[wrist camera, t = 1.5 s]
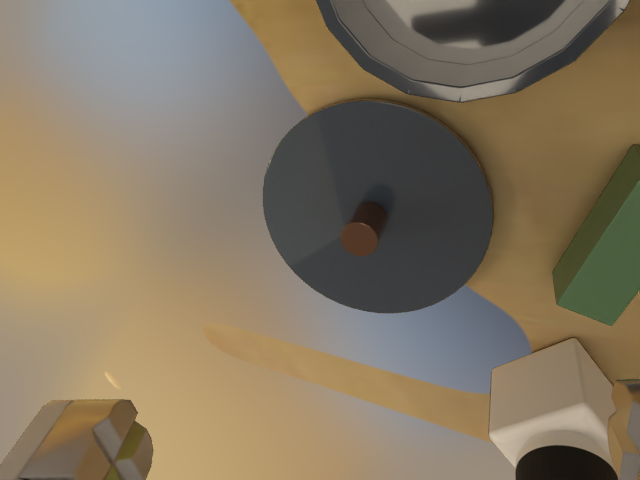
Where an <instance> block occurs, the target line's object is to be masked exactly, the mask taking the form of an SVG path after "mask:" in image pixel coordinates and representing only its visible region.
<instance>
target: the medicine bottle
mask: <svg viewBox="0 0 640 480" xmlns="http://www.w3.org/2000/svg"><path fill="white" fill-rule="evenodd" d="M612 389H613V386H612V385H611V383H610V382H609V381H608V379H607V378H606V377H605V375H604V374H603V373H602V372H601V370H600V369H599V368H598V366H597V365H596V364H595V362H594V361H593V360H592V358H591V357H590V356H589V354H588V353H587V352H586V351H585V349H584V348H583V347H582V345H581V344H580V343H579V341H578V340H577V339H575V338H571V339H568V340H566V341H563V342H560V343H558V344H555V345H553V346H550V347H548V348H545V349H542V350H540V351H537V352H535V353H532V354H529V355H527V356H525V357H522V358H519V359H517V360H514V361H511V362H509V363H506V364H504V365H501V366H498V367H496V368H494V369H492V372H491V391H490V411H489V433H488V435H489V437H490V439H491V440H492V441H493V443H494V444H495V445H496V446H497V447H498V448H499V450H500V451H501V452H502V453H503V454H504V455H505V457H506V458H507V459H508V460H509V461H510V463H511V464H512V465H513V466H514V467H515V468H516V480H619V479H618V476H617V473H616V471H615V468H614V466H613V462H612V459H611V455H610V452H609V445H608V436H607V428H608V418H609V417H610V416H611V415H612V414H613V413H614V412H616V411H617V410H616V407H615V405H614V403H613V400H612V398H611V396H612Z"/></svg>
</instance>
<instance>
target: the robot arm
mask: <svg viewBox="0 0 640 480" xmlns="http://www.w3.org/2000/svg"><path fill="white" fill-rule="evenodd" d="M611 398H612V400H613V403H614V405H615V407H616V410H617V411H616V412H614V413H613V414H612V415H611V416H610V417H609V418H608V428H607V436H608V445H609V452H610V455H611V459H612V462H613V466H614V468H615V471H616V473H617V476H618V479H619V480H640V379H626V380H616V382H615V384H614V385H613V389H612V396H611ZM137 414H138V412H137V410H136V409H135V407H134V405H133V403H132V402H131V400H123V399H112V400H58V401H57V400H53V401H51V402H49V403H47V404H46V405H44V406H43V407H42V408H41V410H40V411H39V412H38V414H37V415H36V416H35V418H34V419H33V421H32V422H31V423H30V425H29V426H28V427H27V429H26V430H25V432H24V433H23V434H22V436H21V437H20V438H19V440H18V441H17V442H16V444H15V445H14V447H13V448H12V449H11V451H10V452H9V453H8V455H7V456H6V458H5V459H4V460H3V462H2V463H1V464H0V480H146V478H147V475H148V473H149V470H150V468H151V464H152V456H153V445H152V440H151V437H150V435H149V433H148V431H147V429H146V428H144V427H143V426H141V425H140V424H139V423H137V422H136V421H135V419H136V416H137Z"/></svg>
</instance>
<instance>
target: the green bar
mask: <svg viewBox="0 0 640 480" xmlns="http://www.w3.org/2000/svg"><path fill="white" fill-rule="evenodd" d="M552 274H553V282H554V290H555V297H556V304H557V305H559V306H561V307H564V308H566V309H569V310H571V311H574V312H577V313H579V314H582V315H584V316H587V317H589V318H592V319H594V320H597V321H600V322H602V323H605V324H607V325H610V326H612V325H613V324H614V323H615V321H616V320H617V319H618V317H619V316H620V315H621V313H622V312H623V311H624V310H625V308H626V307H627V306H628V304H629V303H630V302H631V300H632V299H633V298H634V296H635V295H636V294H637V293H638V291H639V290H640V146H637V145H632V147H631V148H630V150H629V152H628V153H627V155H626V156H625V158H624V160H623V161H622V163H621V164H620V166H619V167H618V169H617V171H616V172H615V174H614V175H613V177H612V179H611V180H610V182H609V183H608V185H607V186H606V188H605V190H604V191H603V193H602V194H601V196H600V198H599V199H598V201H597V202H596V204H595V206H594V207H593V209H592V210H591V212H590V213H589V215H588V217H587V218H586V220H585V221H584V223H583V225H582V226H581V228H580V229H579V231H578V232H577V234H576V236H575V237H574V239H573V240H572V242H571V244H570V245H569V247H568V248H567V250H566V251H565V253H564V255H563V256H562V258H561V259H560V261H559V263H558V264H557V266H556V267H555V269H554V271H553V272H552Z"/></svg>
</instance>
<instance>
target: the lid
mask: <svg viewBox="0 0 640 480" xmlns="http://www.w3.org/2000/svg"><path fill="white" fill-rule="evenodd" d="M263 207H264V215H265V219H266V223H267V227H268V230H269V232H270V235H271V238H272V240H273V242H274V244H275V246H276V248H277V250H278V252H279V253H280V254H281V256H282V257H283V259H284V260H285V261H286V263H287V264H288V266H289V267H290V268H291V269H292V270H293V271H294V273H295V274H297V275H298V276H299V277H300V278H301V279H302V280H303V281H304V282H305V283H306V284H308V285H309V286H311V287H312V288H313V289H314V290H316V291H317V292H319V293H321V294H322V295H324V296H325V297H327V298H329V299H332V300H333V301H336V302H338V303H340V304H343V305H345V306H348V307H351V308H354V309H359V310H363V311H368V312H376V313H401V312H409V311H414V310H419V309H422V308H425V307H428V306H431V305H433V304H435V303H438V302H439V301H441V300H444V299H445V298H447V297H448V296H450V295H451V294H453V293H455V292H456V291H457V290H458V289H459V288H461V287H462V286H463V285H464V284H465V283H466V282H467V281H468V280H469V279H470V277H471V276H472V275H473V274H474V273H475V271H476V270H477V268H478V267H479V265H480V263H481V262H482V260H483V258H484V255H485V253H486V251H487V249H488V245H489V241H490V238H491V233H492V223H493V205H492V198H491V193H490V188H489V185H488V182H487V179H486V176H485V173H484V171H483V169H482V167H481V165H480V164H479V162H478V160H477V158H476V157H475V155H474V154H473V152H472V151H471V150H470V148H469V147H468V146H467V144H466V143H465V142H464V141H463V140H462V139H461V138H460V137H459V136H458V135H457V134H456V133H455V132H454V131H453V130H452V129H450V128H449V127H448V126H446V125H445V124H444V123H443V122H441V121H440V120H438V119H436V118H435V117H433V116H431V115H430V114H428V113H426V112H424V111H422V110H419V109H417V108H415V107H412V106H409V105H406V104H402V103H399V102H395V101H389V100H382V99H355V100H348V101H343V102H339V103H335V104H332V105H329V106H327V107H324V108H322V109H320V110H317V111H315V112H314V113H312V114H311V115H309V116H307V117H306V118H304V119H303V120H302V121H300V122H299V123H298V124H297V125H296V126H294V127H293V128H292V129H291V130H290V131H289V132H288V133H287V134H286V136H285V137H284V138H283V139H282V140H281V142H280V143H279V145H278V146H277V148H276V150H275V151H274V153H273V155H272V157H271V159H270V162H269V164H268V167H267V171H266V174H265V179H264V186H263Z"/></svg>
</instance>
